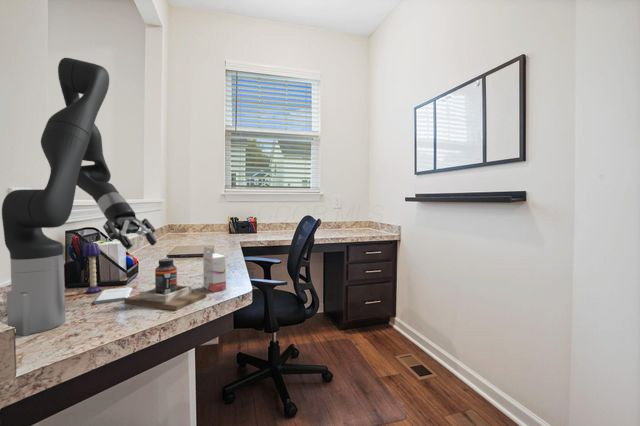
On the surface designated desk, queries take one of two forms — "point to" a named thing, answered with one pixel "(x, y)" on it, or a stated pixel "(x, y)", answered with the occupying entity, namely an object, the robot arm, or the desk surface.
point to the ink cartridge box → (214, 270)
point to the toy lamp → (92, 266)
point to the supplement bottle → (165, 277)
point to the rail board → (167, 298)
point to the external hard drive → (113, 295)
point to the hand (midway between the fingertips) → (142, 245)
